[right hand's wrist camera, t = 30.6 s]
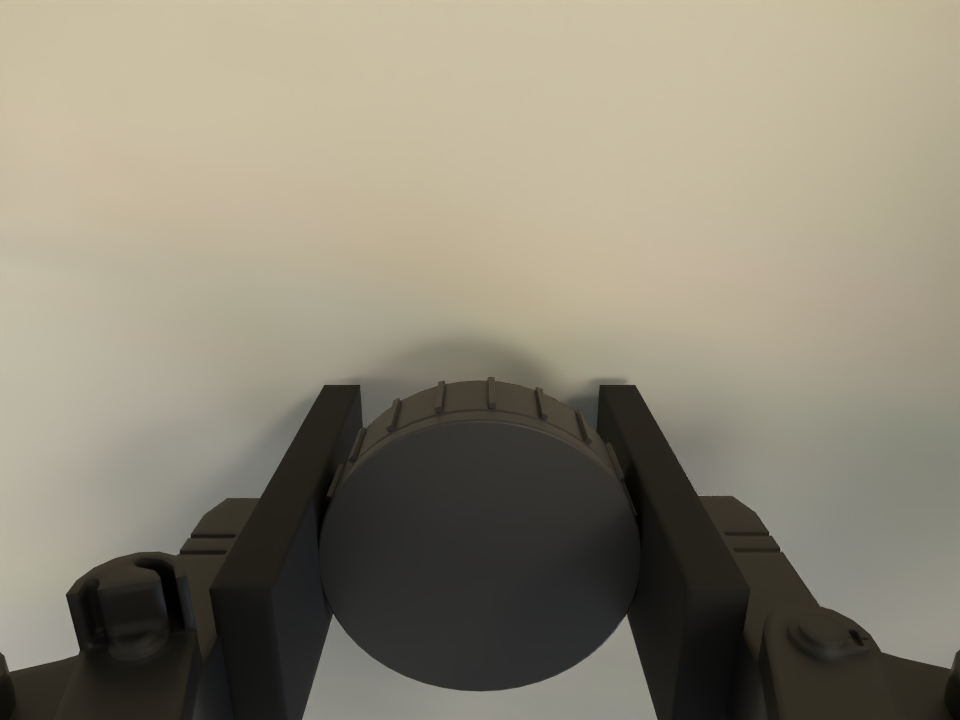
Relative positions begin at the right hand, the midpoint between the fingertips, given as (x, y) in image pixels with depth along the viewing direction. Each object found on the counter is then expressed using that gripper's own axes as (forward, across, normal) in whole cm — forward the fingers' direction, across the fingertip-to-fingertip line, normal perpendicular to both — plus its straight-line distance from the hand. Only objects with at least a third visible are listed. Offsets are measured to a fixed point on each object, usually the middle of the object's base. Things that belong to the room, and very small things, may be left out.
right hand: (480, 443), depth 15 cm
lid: (-4, 0, 0) cm, 4 cm away
